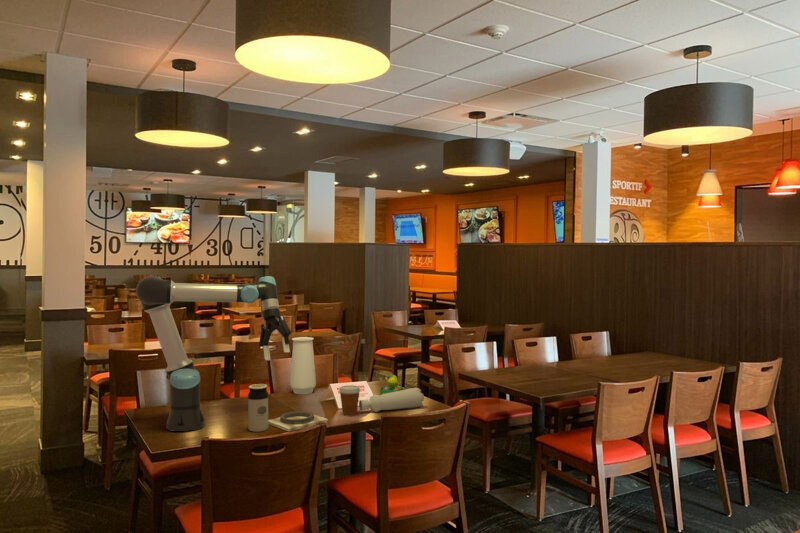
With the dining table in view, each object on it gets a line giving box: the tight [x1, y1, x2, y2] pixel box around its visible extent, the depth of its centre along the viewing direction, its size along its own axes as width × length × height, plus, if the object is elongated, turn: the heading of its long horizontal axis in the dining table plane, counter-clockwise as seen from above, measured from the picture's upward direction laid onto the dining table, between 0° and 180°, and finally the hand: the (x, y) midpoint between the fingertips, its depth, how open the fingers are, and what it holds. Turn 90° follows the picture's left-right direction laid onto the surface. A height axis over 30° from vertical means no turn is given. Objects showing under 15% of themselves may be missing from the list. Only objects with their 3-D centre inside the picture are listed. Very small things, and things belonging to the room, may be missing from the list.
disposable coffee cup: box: [338, 384, 361, 416], centre depth 276 cm, size 10×10×12 cm
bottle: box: [358, 387, 425, 413], centre depth 283 cm, size 9×9×30 cm
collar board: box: [268, 410, 329, 433], centre depth 262 cm, size 20×17×3 cm
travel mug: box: [247, 383, 269, 433], centre depth 252 cm, size 8×8×18 cm
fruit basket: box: [379, 374, 405, 395], centre depth 305 cm, size 11×9×11 cm
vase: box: [290, 336, 317, 395], centre depth 318 cm, size 13×13×28 cm
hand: (277, 356), depth 269 cm, fingers open, 13 cm apart
